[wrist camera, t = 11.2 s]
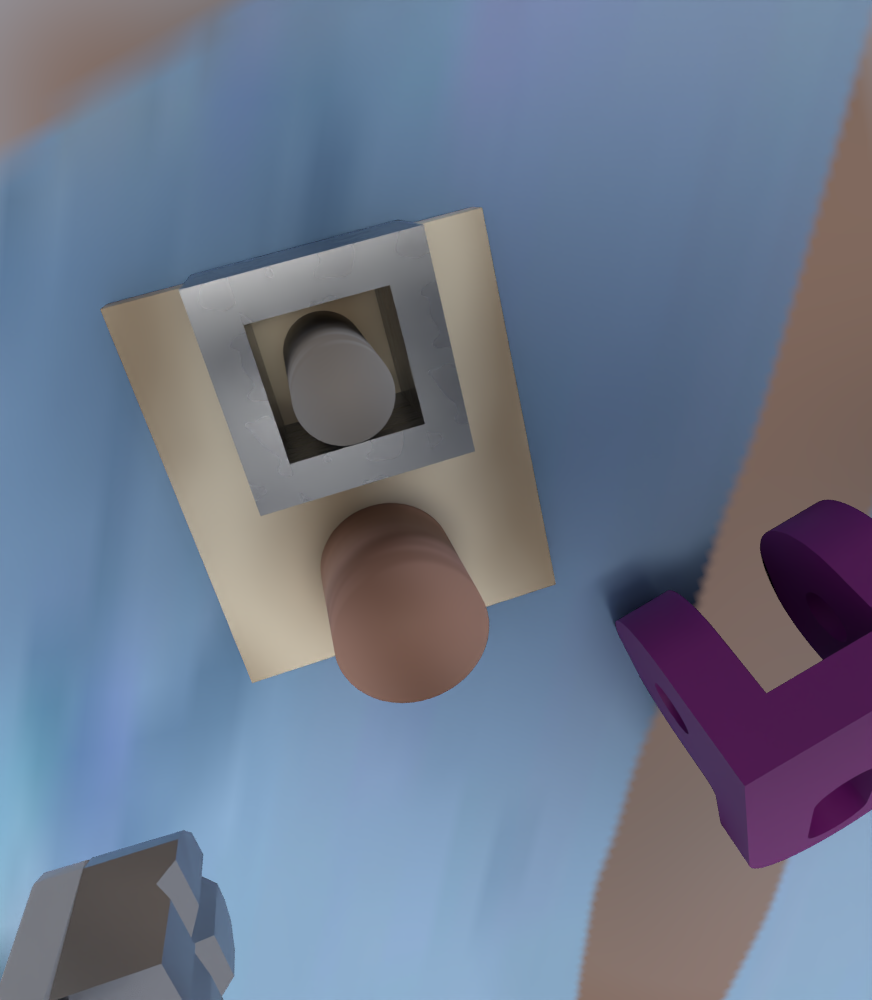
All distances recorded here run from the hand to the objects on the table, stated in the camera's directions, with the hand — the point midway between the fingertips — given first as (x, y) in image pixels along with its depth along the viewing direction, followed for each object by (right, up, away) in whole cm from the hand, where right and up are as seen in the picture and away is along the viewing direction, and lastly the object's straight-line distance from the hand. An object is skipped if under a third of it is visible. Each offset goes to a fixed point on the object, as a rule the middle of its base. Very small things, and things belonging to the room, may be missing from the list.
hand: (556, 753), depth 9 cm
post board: (-4, +4, +19) cm, 20 cm away
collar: (-5, +8, +16) cm, 18 cm away
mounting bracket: (+13, -6, +27) cm, 31 cm away
